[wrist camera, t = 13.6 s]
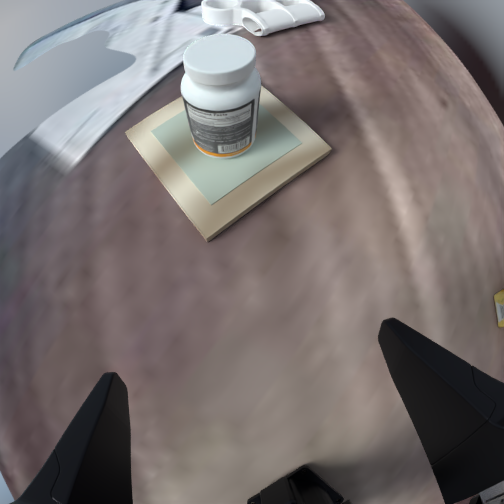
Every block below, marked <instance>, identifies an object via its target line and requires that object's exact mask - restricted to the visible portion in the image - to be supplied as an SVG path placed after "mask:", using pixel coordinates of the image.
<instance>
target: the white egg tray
mask: <svg viewBox="0 0 504 504" xmlns="http://www.w3.org/2000/svg"><path fill="white" fill-rule="evenodd" d="M201 6H202V17H203V20H204V22H206V23H208V24H211V25H217V26H226V25H241V26H244V27H245V28H246V29H247V30H248V31H249V32H251V33H252V34H254V35H256V36H265V35H268V34H269V33H272V32H276V31H279V30H283V29H286V28H290V27H297V26H298V25H302V24H306V23H311V22H315V21H323V19H324V18H325V14H324V12H323V11H322V9H321V8H320V7H319V6H317V5H316V4H314V3H313V2H312V1H310V0H203V1H202V4H201ZM256 12H259V13H256ZM260 28H261V30H262V31H261V32H254V31H256V30H257V29H260Z"/></svg>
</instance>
